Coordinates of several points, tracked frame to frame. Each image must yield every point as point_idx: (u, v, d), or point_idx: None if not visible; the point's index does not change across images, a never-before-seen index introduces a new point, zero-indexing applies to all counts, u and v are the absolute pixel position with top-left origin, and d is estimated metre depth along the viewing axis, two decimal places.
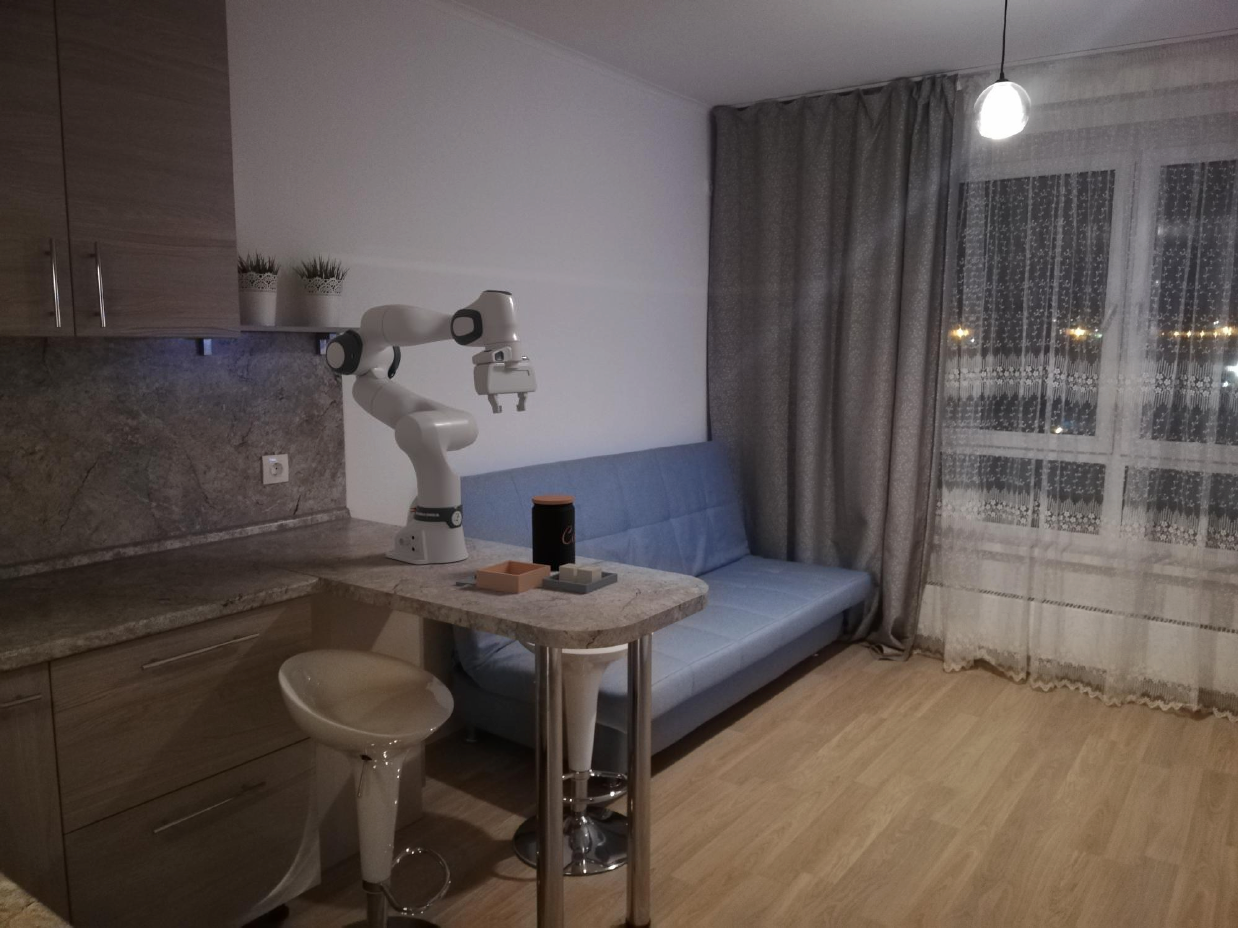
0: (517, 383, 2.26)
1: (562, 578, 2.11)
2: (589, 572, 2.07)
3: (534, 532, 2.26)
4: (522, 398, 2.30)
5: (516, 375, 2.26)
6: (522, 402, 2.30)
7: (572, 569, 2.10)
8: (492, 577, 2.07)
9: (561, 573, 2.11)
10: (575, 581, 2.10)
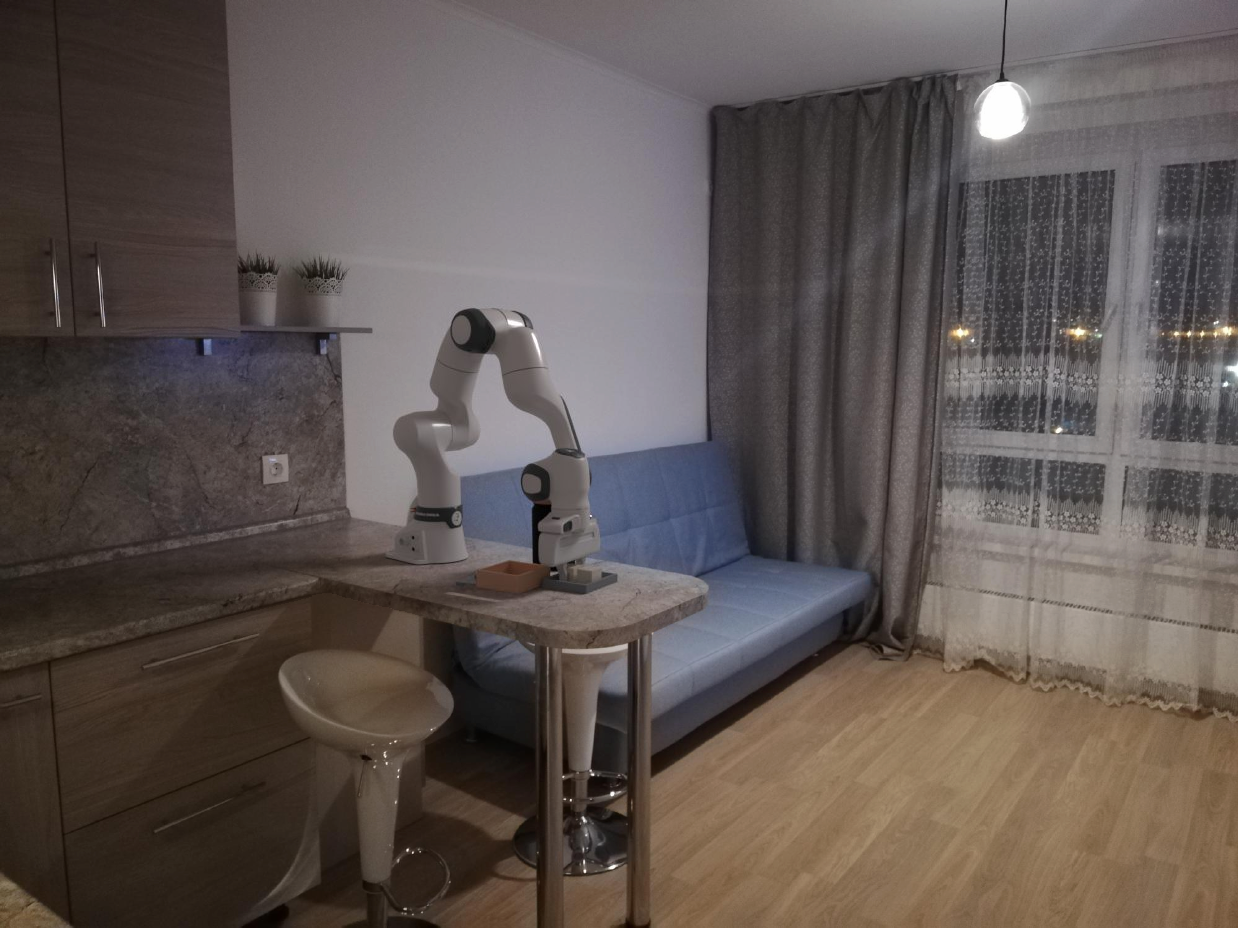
0: (582, 548, 2.12)
1: None
2: (589, 572, 2.07)
3: (534, 532, 2.26)
4: (580, 562, 2.15)
5: (581, 539, 2.12)
6: None
7: (572, 569, 2.10)
8: (492, 577, 2.07)
9: None
10: (575, 581, 2.10)
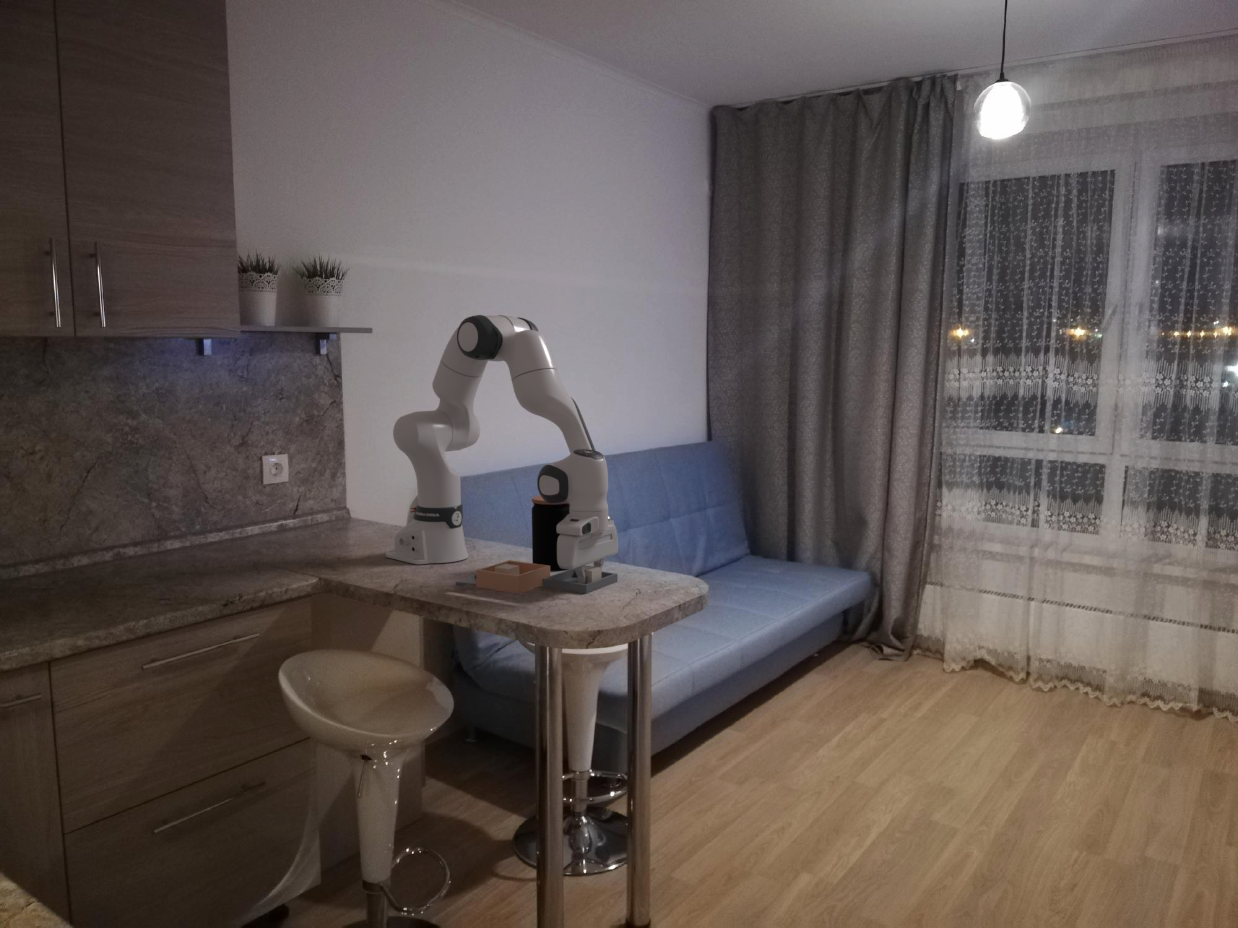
0: (600, 550, 2.10)
1: None
2: (589, 572, 2.07)
3: (534, 532, 2.26)
4: (598, 564, 2.12)
5: (599, 542, 2.10)
6: None
7: (507, 570, 2.09)
8: (492, 577, 2.07)
9: None
10: None
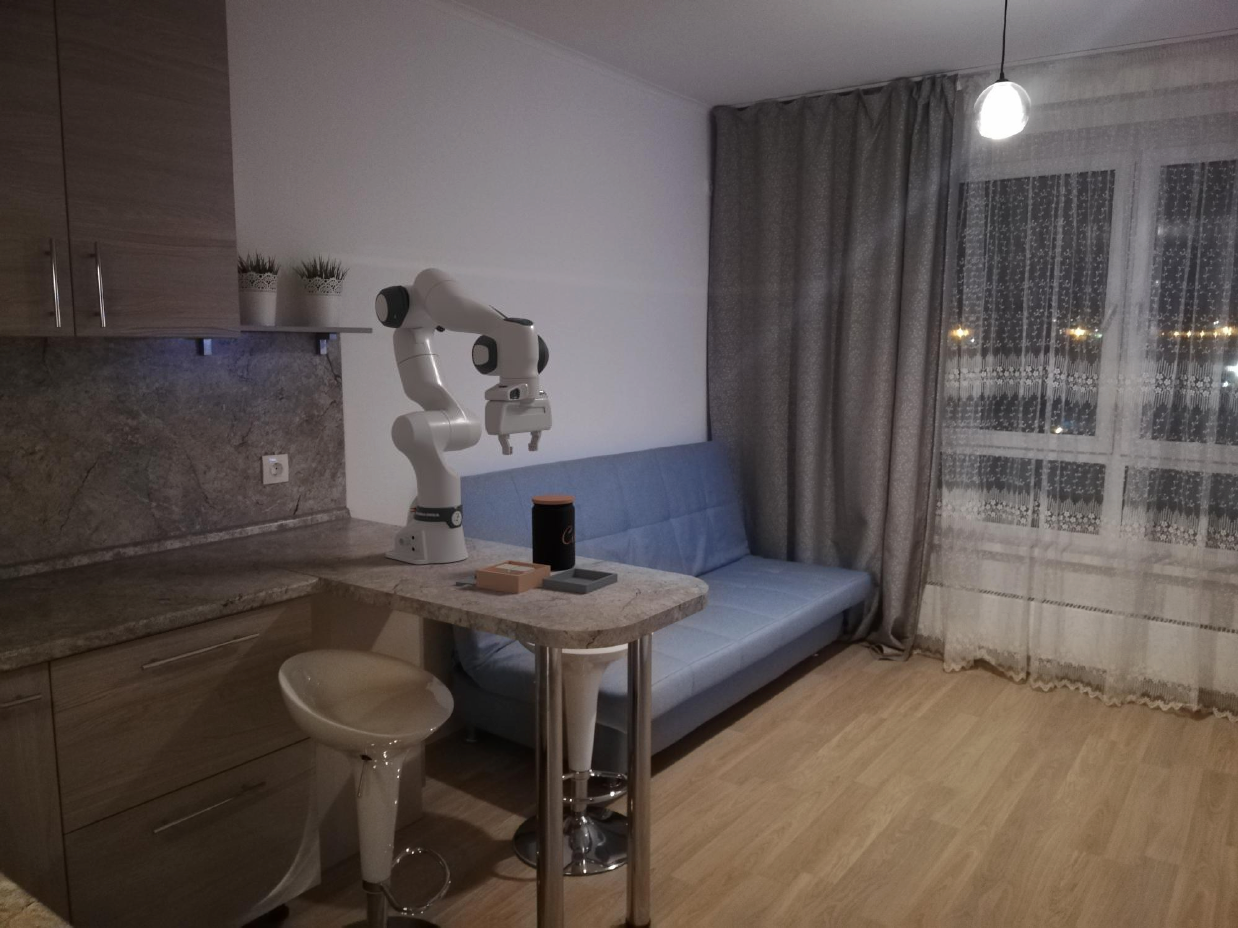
0: (532, 421, 2.07)
1: None
2: (521, 572, 2.07)
3: (534, 532, 2.26)
4: (535, 436, 2.11)
5: (531, 413, 2.07)
6: (535, 441, 2.10)
7: (507, 570, 2.09)
8: (492, 577, 2.07)
9: None
10: None
